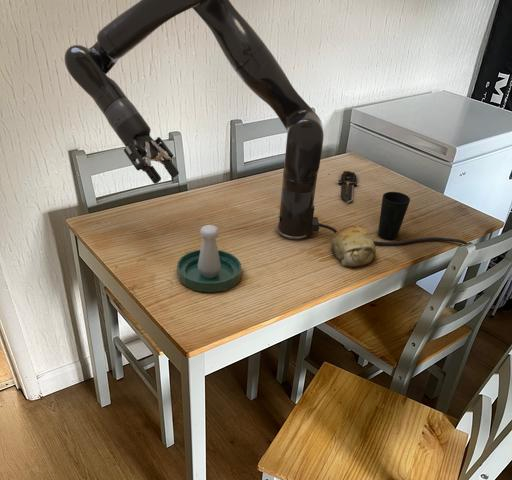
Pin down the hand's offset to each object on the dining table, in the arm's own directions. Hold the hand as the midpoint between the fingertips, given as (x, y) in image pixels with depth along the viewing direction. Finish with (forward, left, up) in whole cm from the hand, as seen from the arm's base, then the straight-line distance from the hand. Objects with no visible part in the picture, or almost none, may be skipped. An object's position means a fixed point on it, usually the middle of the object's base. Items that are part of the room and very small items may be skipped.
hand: (167, 178), depth 133 cm
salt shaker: (-11, +13, -19) cm, 26 cm away
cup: (-63, -11, -20) cm, 67 cm away
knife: (-57, -43, -20) cm, 74 cm away
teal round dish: (-11, +13, -20) cm, 26 cm away
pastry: (-50, +1, -20) cm, 53 cm away
